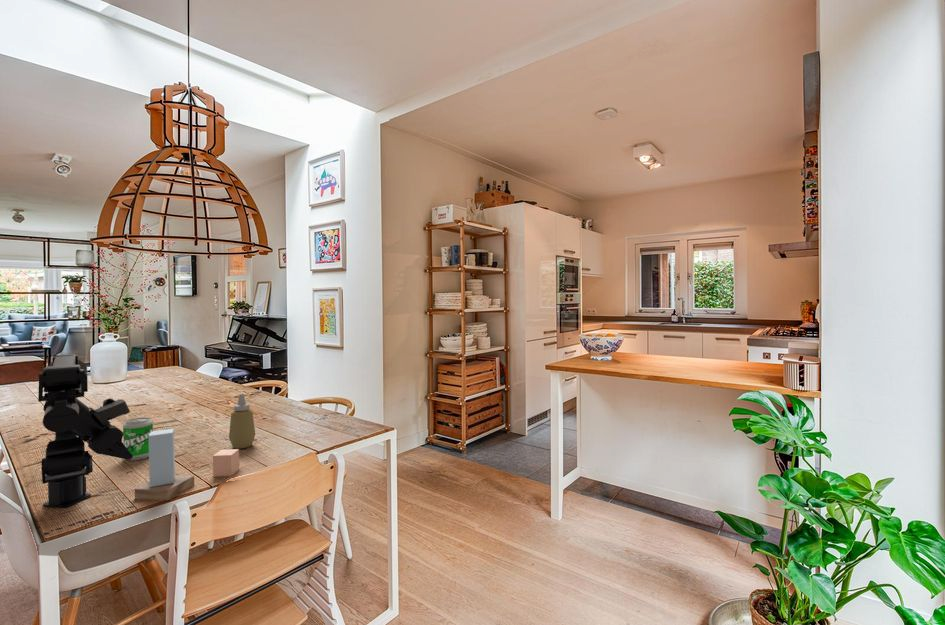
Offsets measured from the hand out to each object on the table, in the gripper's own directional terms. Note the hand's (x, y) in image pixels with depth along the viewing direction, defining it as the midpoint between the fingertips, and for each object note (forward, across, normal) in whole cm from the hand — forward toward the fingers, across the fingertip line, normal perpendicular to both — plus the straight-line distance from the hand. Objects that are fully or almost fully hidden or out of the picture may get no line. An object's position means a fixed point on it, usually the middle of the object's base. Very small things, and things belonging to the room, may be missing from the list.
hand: (126, 454), depth 111 cm
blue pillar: (+10, -4, 0) cm, 11 cm away
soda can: (+14, +31, -1) cm, 34 cm away
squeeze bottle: (+30, +16, -21) cm, 40 cm away
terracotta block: (+22, -4, -11) cm, 25 cm away
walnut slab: (+13, -5, +2) cm, 14 cm away
